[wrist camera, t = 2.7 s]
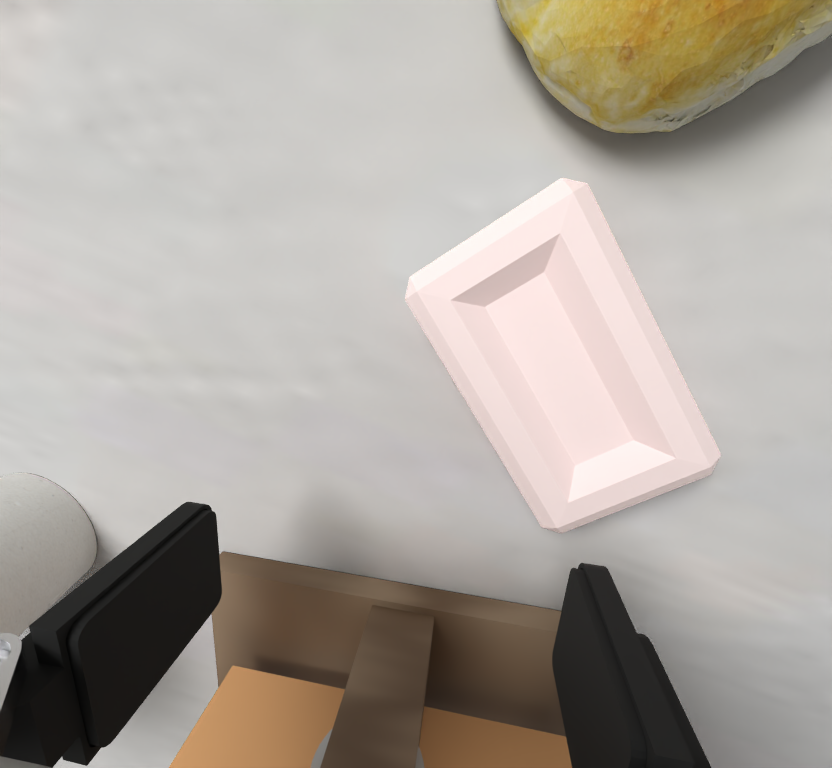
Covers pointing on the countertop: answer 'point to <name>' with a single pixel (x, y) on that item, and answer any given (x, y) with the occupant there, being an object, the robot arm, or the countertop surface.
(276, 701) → the collar
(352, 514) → the countertop surface
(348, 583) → the pipe stand
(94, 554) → the dixie cup
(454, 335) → the soap bar
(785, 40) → the bread roll
